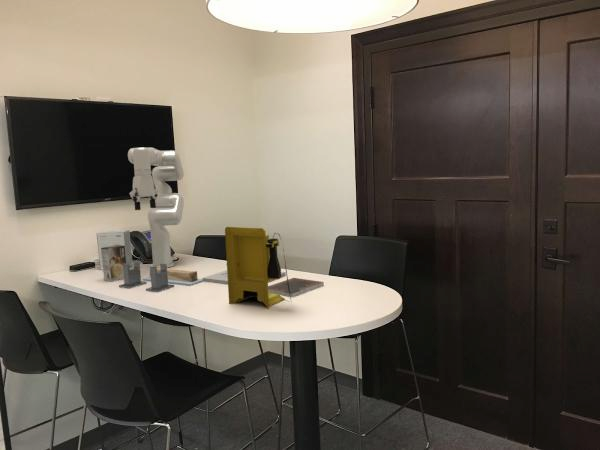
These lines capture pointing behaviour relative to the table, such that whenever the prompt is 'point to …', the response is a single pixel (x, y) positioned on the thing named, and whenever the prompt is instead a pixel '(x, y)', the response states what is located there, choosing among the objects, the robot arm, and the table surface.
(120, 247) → the coffee box
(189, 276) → the rail
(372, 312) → the table surface
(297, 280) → the picture frame
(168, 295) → the table surface
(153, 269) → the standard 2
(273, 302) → the vintage telephone
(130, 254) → the hard drive box
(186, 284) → the pad
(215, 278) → the award plaque
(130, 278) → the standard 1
